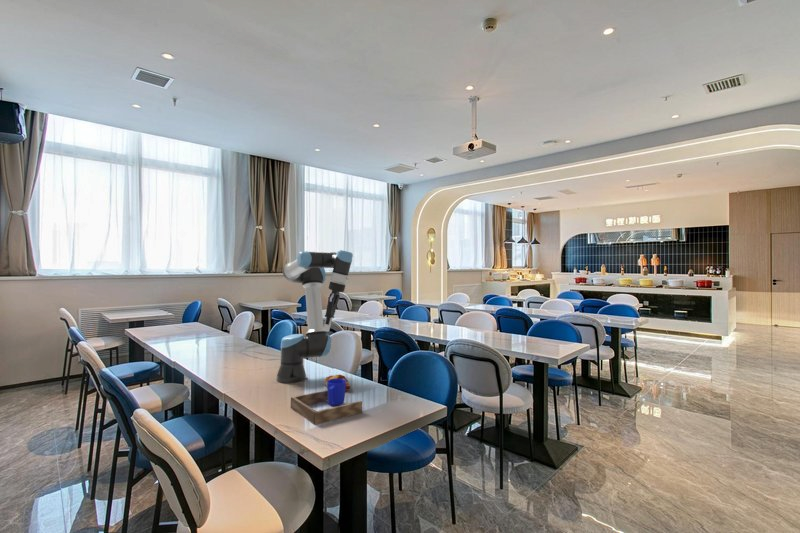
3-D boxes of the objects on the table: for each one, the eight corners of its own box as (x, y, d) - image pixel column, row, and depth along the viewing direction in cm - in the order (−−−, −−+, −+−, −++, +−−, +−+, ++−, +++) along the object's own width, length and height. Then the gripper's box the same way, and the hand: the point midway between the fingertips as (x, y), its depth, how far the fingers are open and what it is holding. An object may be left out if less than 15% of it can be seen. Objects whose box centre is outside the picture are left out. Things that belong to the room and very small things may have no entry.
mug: (320, 409, 158) (321, 385, 159) (330, 400, 170) (330, 378, 171) (339, 411, 157) (340, 386, 157) (347, 401, 169) (348, 379, 169)
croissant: (320, 390, 196) (314, 378, 194) (335, 378, 203) (329, 366, 200) (345, 399, 181) (338, 386, 179) (359, 386, 187) (353, 373, 185)
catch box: (335, 398, 173) (335, 388, 174) (362, 412, 156) (362, 401, 156) (290, 407, 160) (290, 397, 160) (314, 424, 143) (315, 412, 143)
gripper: (342, 284, 174) (329, 334, 174) (348, 284, 187) (336, 330, 187) (326, 280, 174) (314, 330, 174) (333, 280, 187) (322, 326, 187)
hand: (325, 330), depth 180 cm, fingers closed
